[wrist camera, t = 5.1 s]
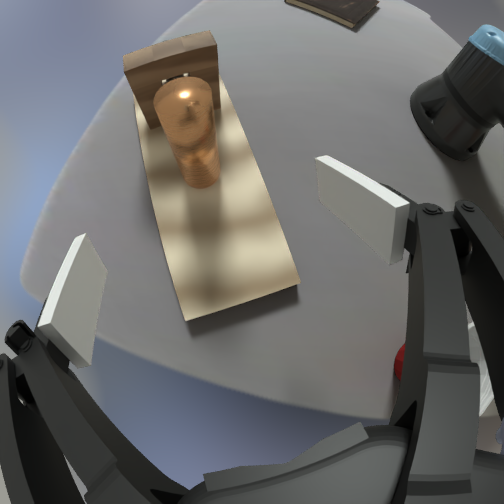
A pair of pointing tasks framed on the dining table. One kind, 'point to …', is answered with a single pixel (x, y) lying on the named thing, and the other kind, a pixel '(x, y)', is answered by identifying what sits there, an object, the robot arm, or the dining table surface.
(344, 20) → the hardcover book
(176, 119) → the copper cylinder with rod
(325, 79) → the dining table surface
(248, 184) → the copper canister stand
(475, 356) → the plastic cup
